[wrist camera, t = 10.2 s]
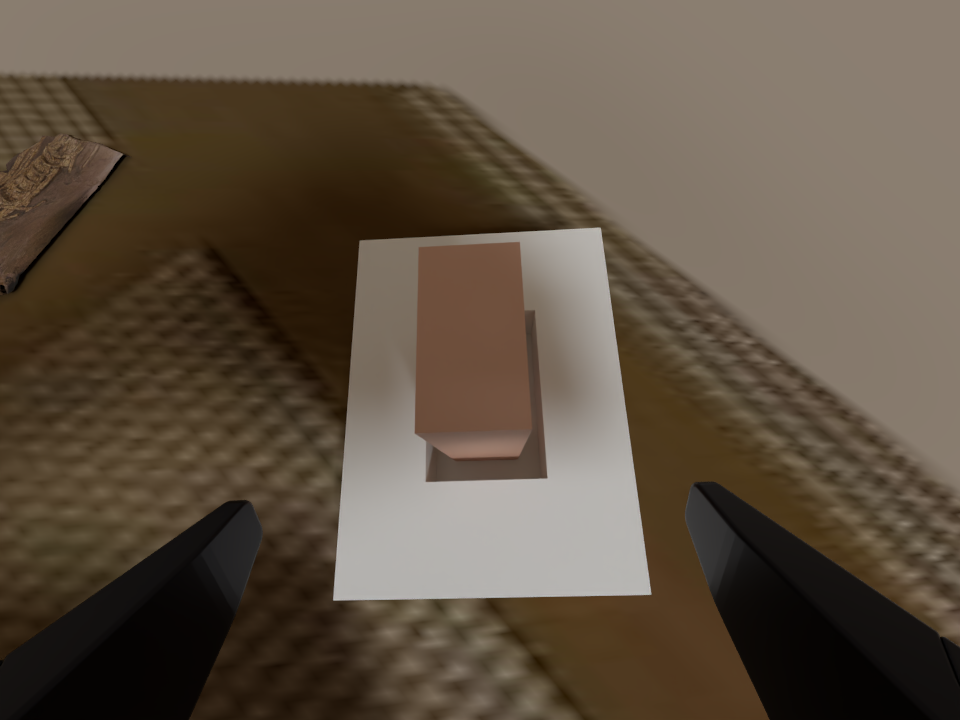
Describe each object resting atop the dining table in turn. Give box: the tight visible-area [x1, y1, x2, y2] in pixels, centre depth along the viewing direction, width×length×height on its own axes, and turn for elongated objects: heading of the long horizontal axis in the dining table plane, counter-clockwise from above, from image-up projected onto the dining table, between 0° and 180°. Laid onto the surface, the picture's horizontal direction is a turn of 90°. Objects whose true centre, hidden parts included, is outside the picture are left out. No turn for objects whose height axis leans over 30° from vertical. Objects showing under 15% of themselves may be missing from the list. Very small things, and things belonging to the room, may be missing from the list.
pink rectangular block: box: [415, 242, 532, 461], centre depth 16 cm, size 6×3×10 cm, turn 1°
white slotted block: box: [333, 228, 651, 601], centre depth 20 cm, size 16×12×4 cm
